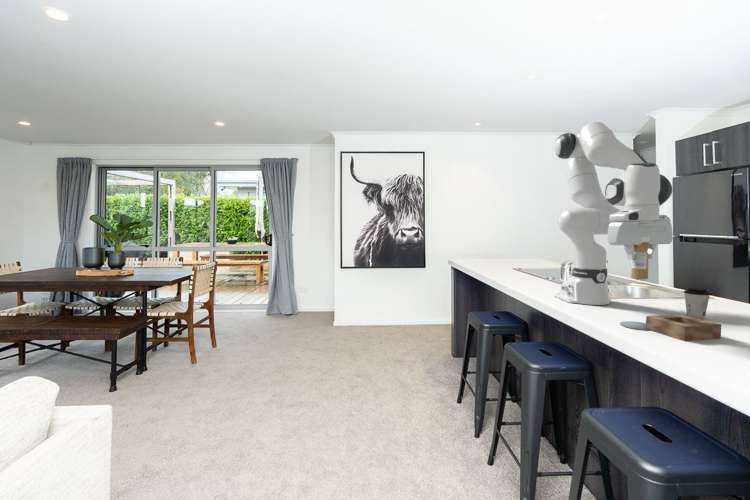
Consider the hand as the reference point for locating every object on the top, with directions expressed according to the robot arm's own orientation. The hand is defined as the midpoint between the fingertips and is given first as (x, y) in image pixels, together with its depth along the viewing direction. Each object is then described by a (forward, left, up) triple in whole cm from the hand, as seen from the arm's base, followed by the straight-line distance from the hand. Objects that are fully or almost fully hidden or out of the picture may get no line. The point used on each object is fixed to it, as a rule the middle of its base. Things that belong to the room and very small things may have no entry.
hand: (639, 259), depth 114 cm
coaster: (0, 0, -21) cm, 21 cm away
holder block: (+9, +6, -21) cm, 24 cm away
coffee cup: (-5, +28, -22) cm, 36 cm away
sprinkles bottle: (0, 0, -6) cm, 6 cm away
